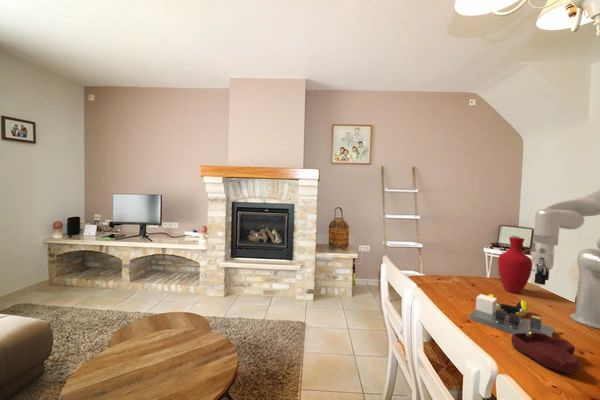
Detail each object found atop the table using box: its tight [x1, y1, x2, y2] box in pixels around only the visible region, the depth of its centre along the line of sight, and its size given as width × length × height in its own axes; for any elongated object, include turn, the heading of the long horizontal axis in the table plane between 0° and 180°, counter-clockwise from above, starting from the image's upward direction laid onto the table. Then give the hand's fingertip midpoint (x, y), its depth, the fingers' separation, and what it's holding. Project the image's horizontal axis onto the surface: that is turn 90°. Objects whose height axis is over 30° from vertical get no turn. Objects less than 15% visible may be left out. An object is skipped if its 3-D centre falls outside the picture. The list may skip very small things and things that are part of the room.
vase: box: [497, 236, 533, 295], centre depth 150 cm, size 15×15×30 cm
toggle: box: [529, 314, 543, 329], centre depth 108 cm, size 3×3×4 cm
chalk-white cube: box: [475, 293, 498, 314], centre depth 121 cm, size 6×6×6 cm
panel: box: [469, 309, 555, 337], centre depth 112 cm, size 25×15×6 cm, turn 42°
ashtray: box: [511, 333, 580, 376], centre depth 91 cm, size 18×16×5 cm
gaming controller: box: [488, 293, 529, 317], centre depth 125 cm, size 15×6×10 cm
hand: (541, 281), depth 113 cm, fingers open, 8 cm apart
